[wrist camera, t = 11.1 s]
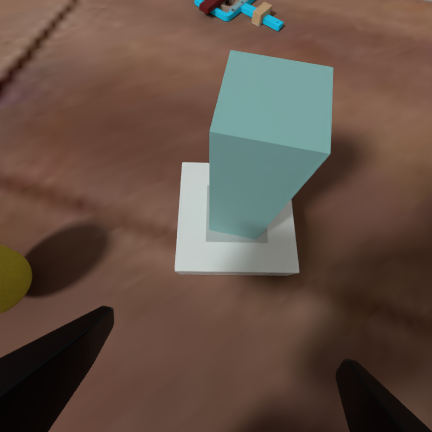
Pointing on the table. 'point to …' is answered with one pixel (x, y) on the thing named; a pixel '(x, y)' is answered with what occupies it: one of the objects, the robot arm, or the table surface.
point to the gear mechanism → (215, 4)
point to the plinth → (228, 237)
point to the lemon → (13, 278)
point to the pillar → (265, 139)
